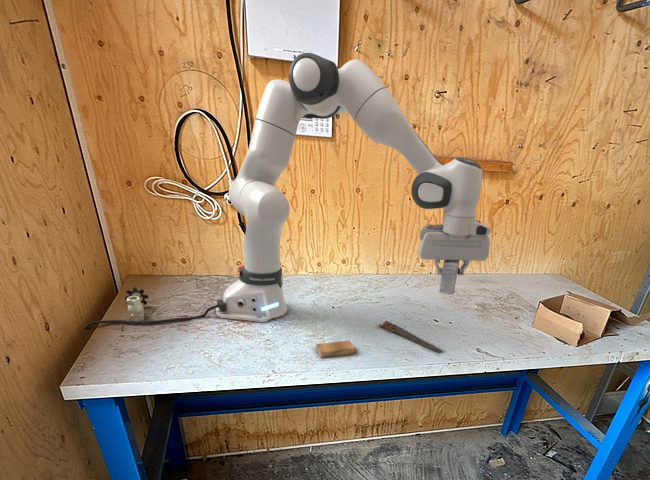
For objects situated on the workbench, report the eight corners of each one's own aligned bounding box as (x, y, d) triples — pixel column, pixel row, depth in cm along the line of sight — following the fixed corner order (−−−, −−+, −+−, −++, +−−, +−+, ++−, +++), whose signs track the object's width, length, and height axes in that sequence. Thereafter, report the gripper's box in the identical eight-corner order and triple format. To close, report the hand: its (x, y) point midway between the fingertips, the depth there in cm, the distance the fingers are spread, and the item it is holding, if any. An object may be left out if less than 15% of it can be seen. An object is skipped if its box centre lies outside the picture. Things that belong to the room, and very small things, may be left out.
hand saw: (446, 348, 131) (447, 346, 130) (438, 353, 128) (438, 351, 127) (386, 321, 143) (386, 320, 143) (377, 325, 140) (377, 323, 140)
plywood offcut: (321, 357, 120) (321, 352, 119) (316, 349, 124) (316, 343, 123) (354, 353, 123) (355, 348, 122) (349, 345, 127) (349, 340, 126)
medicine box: (453, 294, 127) (459, 265, 122) (438, 292, 127) (443, 263, 122) (454, 285, 133) (459, 257, 128) (440, 283, 134) (444, 255, 129)
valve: (150, 320, 131) (150, 305, 140) (145, 299, 127) (146, 285, 136) (125, 322, 128) (127, 307, 137) (120, 301, 125) (122, 287, 134)
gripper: (423, 226, 116) (417, 277, 124) (496, 229, 119) (485, 278, 126) (418, 221, 121) (413, 270, 129) (488, 223, 124) (478, 271, 132)
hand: (449, 274), depth 128 cm, fingers closed on medicine box, 5 cm apart
